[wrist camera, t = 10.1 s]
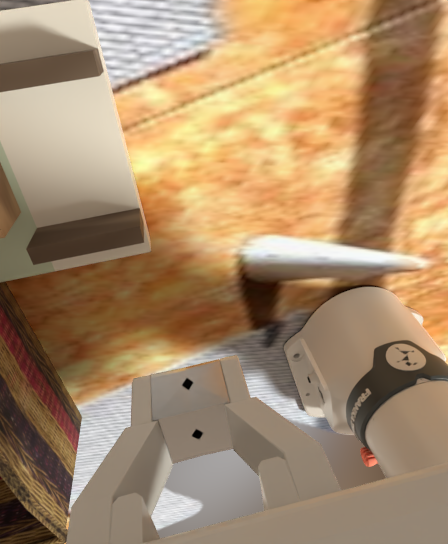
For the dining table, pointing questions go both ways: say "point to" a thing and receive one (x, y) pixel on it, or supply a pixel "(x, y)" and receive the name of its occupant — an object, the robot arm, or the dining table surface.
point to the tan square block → (7, 205)
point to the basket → (33, 435)
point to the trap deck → (60, 140)
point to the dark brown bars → (83, 232)
